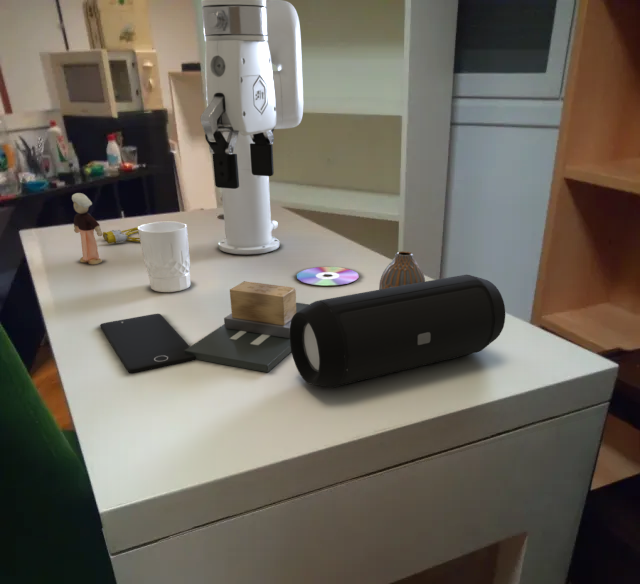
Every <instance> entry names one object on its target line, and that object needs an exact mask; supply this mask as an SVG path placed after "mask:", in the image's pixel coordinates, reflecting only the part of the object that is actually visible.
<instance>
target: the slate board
mask: <svg viewBox="0 0 640 584" xmlns="http://www.w3.org/2000/svg"><path fill="white" fill-rule="evenodd" d="M310 304H311V303H303V302H296V313H297V312H298V311H300V310H302V309H303V308H305V307H306V306H308V305H310ZM189 346H190V345H189ZM291 353H292V352H291V346H290V338H284V337H277V336H271V335H265V334H259V333H253V332H246V331H240V330H234V329H228V328H225V324H224V323H223V324H222V325H220V326H219V327H218V328H216V329H215V330H213V331H212V332H210V333H209V334H207V335H206V336H204V337H203V338H201V339H199V340H198V341H197V342H195V343H193V344H191V346H190V347H189V348H187V349H186V350H185V354H189V355H194V356H196V359H197V360H198V361H204V362H209V363H213V364H218V365H219V364H220V365H226V366H230V367H235V368H236V367H237V368H241V369H245V370H246V369H247V370H253V371H258V372H263V373H269V372H270V371H271V370H273V369H274V368H275V367H276V366H277V365H278V364H279V363H280V362H281V361H282V360H284V359H285V358H286V357H288V355H289V354H291ZM197 360H196V361H197Z"/></svg>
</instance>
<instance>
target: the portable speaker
mask: <svg viewBox="0 0 640 584" xmlns="http://www.w3.org/2000/svg"><path fill="white" fill-rule="evenodd" d="M309 304H310V305H308V306H306V307H305V308H303V309H302V310H300V311H298V312H297V313H296V314H295V315H294V316H293V318H292V320H291V324H290V346H291V352H290V353H291V355H292V359H293V362H294V365H295V367H296V370H297V371H298V373H299V375H300V376H301V378H302V379H303V381H305V382H306V384H309V385H315V386H322V387H327V388H335V387H340V386H345V385H348V384H353V383H357V382H361V381H365V380H369V379H373V378H378V377H381V376H386V375H389V374H394V373H397V372H403V371H406V370H411V369H415V368H419V367H423V366H427V365H431V364H435V363H439V362H444V361H448V360H451V359H455V358H456V359H457V358H459V357H463V356H468V355H472V354H476V353H479V352H481V351H483V350H484V349H486V348H487V347H488V346H489V345H491V344H492V343H493V342H494V341H496V340H497V339H498V337H500V335H501V333H502V332H503V329H504V327H505V322H506V307H505V306H506V305H505V301H504V298H503V295H502V294H501V291H500V290H499V289H498V287H497V286H496V285H495V284H494V283H493V282H491V281H490V280H487V279H485V278H482V277H478V276H475V275H471V274H461V275H455V276H449V277H444V278H443V277H442V278H438V279H432V280H425V282H420V283H414V284H408V285H403V286H397V287H391V288H386V289H380V290H379V289H374V290H370V291H363V292H359V293H353V294H347V295H342V296H336V297H331V298H325V299H320V300H315V301H313V302H311V303H309Z"/></svg>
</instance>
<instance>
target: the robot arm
mask: <svg viewBox="0 0 640 584" xmlns="http://www.w3.org/2000/svg"><path fill="white" fill-rule="evenodd" d="M200 1H201V14H202V24H203V35H204V42H205V93H206V108H205V109H204V111H203V112H202V113H201V115H200V118H199V119H200V123H201V126H202V129H203V132H204V137H205V140H206V142H207V144H208V146H209V147H208V149H209V153H210V154H212V164H213V174H214V176H213V177H214V186H215V187H216V188H218V189H221V199H222V210H223V211H222V212H223V213H222V214H223V221H224V235H225V238H222V239H220V241H219V242H218V249H219V250H220V251H221V252H224V253H227V254H233V255H260V254H265V253H269V252H273V251H275V250H277V249H279V247H280V240H279V239H278V238H277V237H275V236H272V235H273V234H272V233H273V231H274V230H276V229H277V228H278V227H279V224H278V223H279V222H278V221H276V219H272V213H271V194H270V177H272V176H274V173H275V171H274V170H275V169H274V150H273V149H274V147H273V144H274V141H275V137H274V130H285V129H293V128H296V127H298V126H299V125H300V124H301V122H302V120H303V115H304V79H303V76H304V75H303V57H302V53H303V52H302V33H301V25H300V24H301V23H300V18H299V15H298V12H297V9H296V8H295V6H294V5H293V4H292V3H291V2H290V1H287V0H200ZM273 65H274V66H275V67H276V68H277V70H273Z"/></svg>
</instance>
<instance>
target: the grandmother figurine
mask: <svg viewBox="0 0 640 584" xmlns="http://www.w3.org/2000/svg"><path fill="white" fill-rule="evenodd" d="M71 200H72V202H73V210H74V211H75V212H76V214H75V215H74V218H73V227H74V228H73V231H74V233H76V234H79V235H80V241H81V243H80V244H81V254H82V257H80V259H79V263H88V264H89V265H93V266H94V265H98V264H101V263H103V260H102V259H101V258H100V255H99V250H98V244H97V240H96V237H95V233H94V232H96V235H97V236H98V237H103V231H102V230H101V224H100V223H99V222H98V221H97V220H96V219H95V217H93V216H92V215H91V214H90V213H89V209H90V207H91V206H92V205H93V202H92V201H91V199H90V198H89V197H88V196H87V195H86V194H84V193H83V192H82V193H81V192H76V193H73V194H72V195H71Z"/></svg>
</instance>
